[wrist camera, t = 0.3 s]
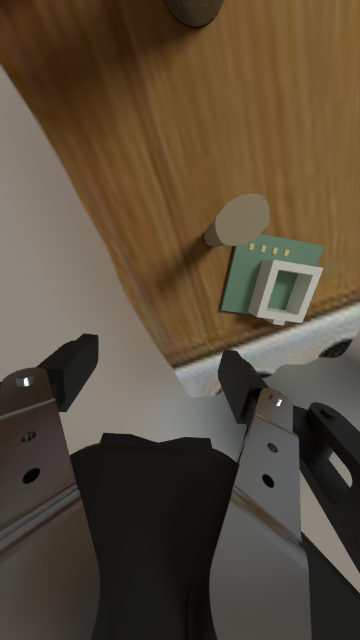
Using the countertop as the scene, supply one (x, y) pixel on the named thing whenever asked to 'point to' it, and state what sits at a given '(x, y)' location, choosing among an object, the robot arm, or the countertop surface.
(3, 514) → the robot arm
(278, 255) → the board
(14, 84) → the countertop surface
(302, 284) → the socket
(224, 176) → the countertop surface
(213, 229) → the handle
